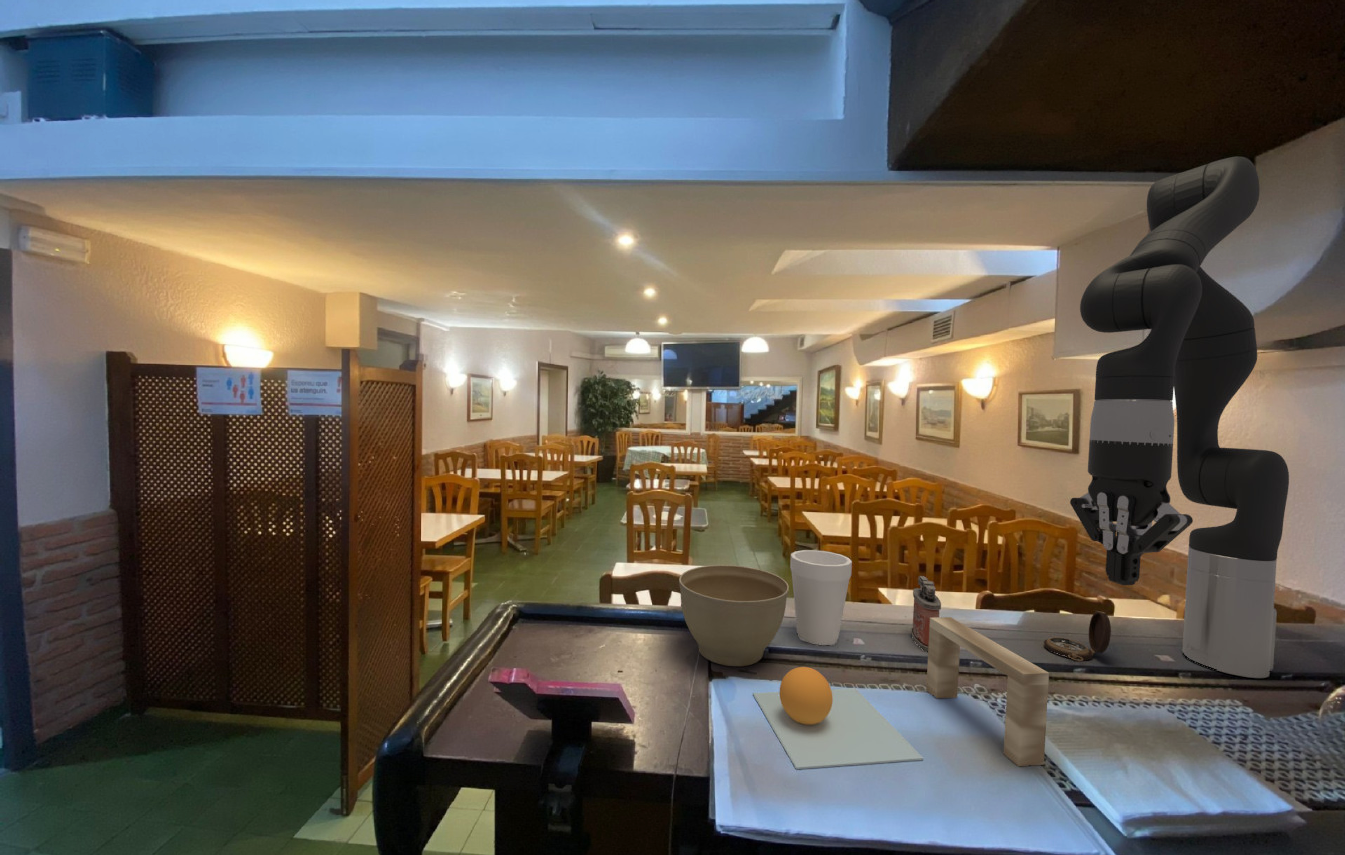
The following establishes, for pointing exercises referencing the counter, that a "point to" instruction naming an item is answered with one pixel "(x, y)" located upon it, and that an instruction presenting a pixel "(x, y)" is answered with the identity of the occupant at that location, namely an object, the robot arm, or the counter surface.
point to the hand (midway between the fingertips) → (1121, 582)
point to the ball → (806, 695)
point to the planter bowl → (732, 611)
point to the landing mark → (837, 733)
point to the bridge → (1022, 685)
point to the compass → (1076, 650)
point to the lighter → (924, 611)
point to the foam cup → (819, 593)
